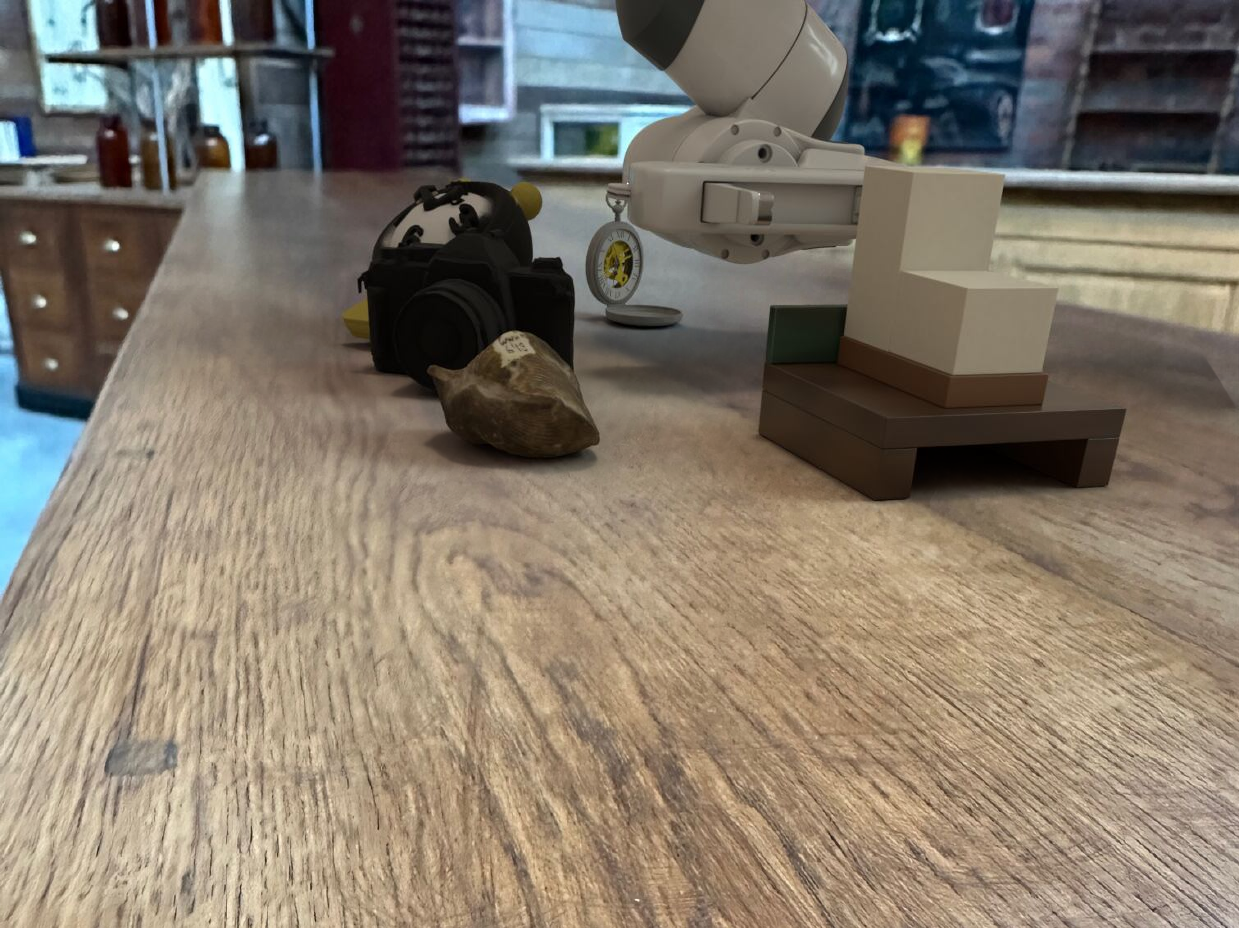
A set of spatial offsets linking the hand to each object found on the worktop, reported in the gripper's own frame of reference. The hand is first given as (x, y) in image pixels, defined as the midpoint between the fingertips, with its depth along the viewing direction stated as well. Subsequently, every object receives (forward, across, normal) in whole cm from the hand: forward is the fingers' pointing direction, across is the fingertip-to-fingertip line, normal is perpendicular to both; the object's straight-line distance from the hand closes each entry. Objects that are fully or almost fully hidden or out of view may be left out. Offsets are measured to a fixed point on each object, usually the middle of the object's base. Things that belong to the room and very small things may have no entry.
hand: (833, 210), depth 73 cm
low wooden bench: (+14, 0, +11) cm, 18 cm away
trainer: (+14, 0, +7) cm, 15 cm away
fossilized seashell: (+8, -22, +12) cm, 26 cm away
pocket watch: (-33, 0, +12) cm, 35 cm away
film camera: (-9, -21, +12) cm, 26 cm away
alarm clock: (-27, -18, +12) cm, 34 cm away
